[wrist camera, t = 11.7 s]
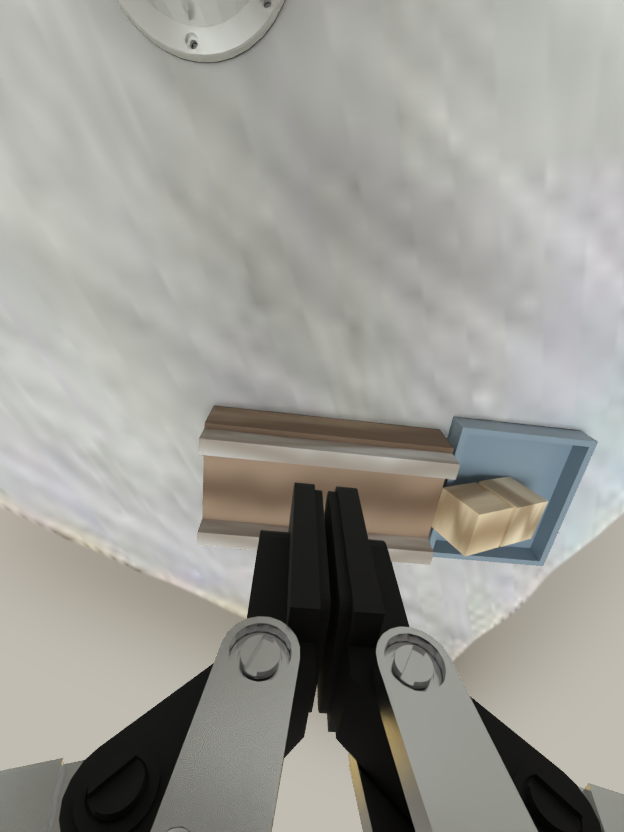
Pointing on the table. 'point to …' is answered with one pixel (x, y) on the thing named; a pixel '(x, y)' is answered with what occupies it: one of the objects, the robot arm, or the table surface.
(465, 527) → the tan wooden cube
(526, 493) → the pale yellow cube
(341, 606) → the robot arm
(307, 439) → the brown wooden channel
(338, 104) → the table surface
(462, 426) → the slate tray
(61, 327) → the table surface
